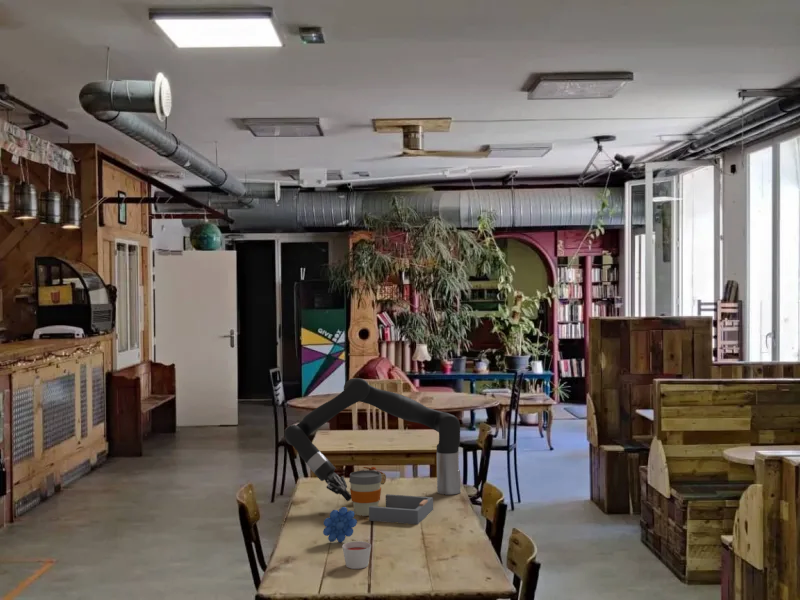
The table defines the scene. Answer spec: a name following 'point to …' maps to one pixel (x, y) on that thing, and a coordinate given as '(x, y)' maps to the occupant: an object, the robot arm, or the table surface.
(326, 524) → the grapes
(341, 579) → the table surface
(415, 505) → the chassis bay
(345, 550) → the candle
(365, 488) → the reusable coffee cup
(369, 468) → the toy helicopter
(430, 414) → the robot arm
